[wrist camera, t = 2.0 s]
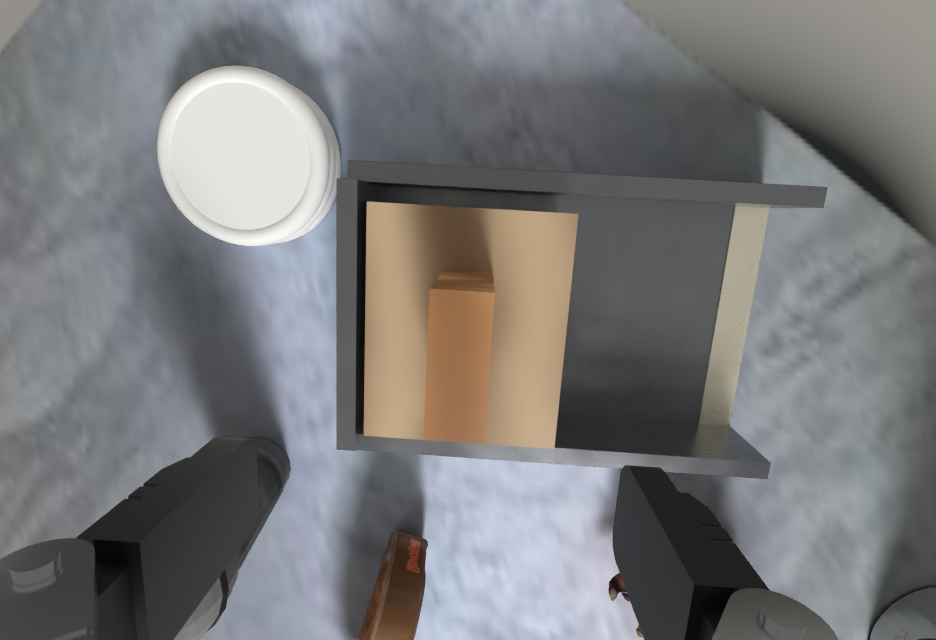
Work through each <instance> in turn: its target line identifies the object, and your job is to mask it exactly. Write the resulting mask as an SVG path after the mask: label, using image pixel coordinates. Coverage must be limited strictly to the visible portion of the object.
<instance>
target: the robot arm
mask: <svg viewBox="0 0 936 640" xmlns="http://www.w3.org/2000/svg"><path fill="white" fill-rule="evenodd" d="M258 509H259V494H258V468H257V448H256V444H255V442H254V440H252V439H247V438H232V437H215V438H213V439H212V440H211V441H209V442H208V443H207V444H206V445H205V446H203V447H202V448H201V449H200V450H199V451H197V452H196V453H195V454H194V455H193V456H192V457H190V458H185V459H183V460H180V461H178V462H176V463H174V464H172V465H170V466H168V467H165V468H163V469H162V470H160V471H159V472H158V473H157V474H155V475H154V476H153V477H152V478H150V479H149V480H148V481H147V482H145V483H144V486H143V487H139V488H138V489H137V490H135V491H134V492H133V493H132V494H130V495H129V497H128V499H124V500H123V501H122V502H120V503H119V504H118V505H117V506H115V507H114V508H113V509H112V510H110V511H109V512H108V513H107V514H105V515H104V516H103V517H102V518H100V519H99V520H98V521H97V522H95V523H94V524H93V525H92V526H90V527H89V528H88V529H87V530H85V531H84V532H83V533H82V534H80V535H79V536H78V537H77V538H62V539H54V540H49V541H44V542H40V543H37V544H33V545H30V546H27V547H25V548H22V549H19V550H17V551H15V552H13V553H11V554H9V555H7V556H5V557H3V558H1V559H0V640H174V638H175V637H176V636H177V634H178V633H179V632H180V630H181V629H182V627H183V626H184V625H185V623H186V622H187V621H188V619H189V618H190V616H191V615H192V614H193V612H194V611H195V610H196V608H197V607H198V605H199V604H200V603H201V601H202V600H203V599H204V597H205V596H206V594H207V593H208V592H209V590H210V589H211V588H212V586H213V585H214V583H215V582H216V581H217V579H218V578H219V577H220V575H221V574H222V572H223V571H224V570H225V568H226V567H227V566H228V564H229V563H230V561H231V560H232V559H233V557H234V556H235V555H236V553H237V552H238V550H239V549H240V548H241V546H242V545H243V544H244V542H245V541H246V539H247V538H248V537H249V535H250V534H251V532H252V530H253V528H254V525H255V523H256V519H257V515H258ZM613 550H614V556H615V560H616V563H617V566H618V569H619V572H620V574H621V577H622V580H623V582H624V585H625V588H626V591H627V593H628V596H629V599H630V601H631V604H632V607H633V610H634V612H635V615H636V618H637V620H638V623H639V626H640V629H641V631H642V634H643V637H644V639H645V640H838V638H837V636H836V634H835V633H834V631H833V630H832V629H831V628H830V626H829V625H828V624H827V623H826V622H825V621H824V620H823V619H822V618H821V617H820V616H818V615H817V614H816V613H815V612H813V611H812V610H811V609H809V608H808V607H806V606H805V605H803V604H801V603H799V602H798V601H796V600H794V599H792V598H790V597H787V596H785V595H782V594H780V593H777V592H773V591H770V590H769V589H768V587H767V586H766V585H765V583H764V582H763V581H762V579H761V578H760V577H759V575H758V574H757V573H756V571H755V570H754V569H753V567H752V566H751V565H750V563H749V562H748V561H747V559H746V558H745V557H744V555H743V554H742V552H741V551H740V550H739V548H738V547H737V546H736V544H733V543H732V539H731V538H730V536H729V535H728V534H727V532H726V531H725V530H724V529H722V528H721V524H720V523H719V522H718V520H717V519H716V518H715V516H714V515H713V514H712V512H711V511H710V510H709V508H708V507H706V506H705V505H703V504H702V503H701V502H699V501H698V500H697V499H695V498H694V497H692V496H691V495H690V494H688V493H681V492H678V491H677V490H676V488H675V487H674V485H673V484H672V482H671V481H670V479H669V478H668V476H667V475H666V473H665V472H664V470H663V469H662V468H660V467H646V466H632V465H625V466H624V467H623V468H622V471H621V475H620V482H619V489H618V497H617V504H616V512H615V519H614V527H613ZM870 640H936V587H930V588H926V589H923V590H919V591H916V592H913V593H911V594H909V595H907V596H904V597H903V598H901V599H900V600H898V601H897V602H895V603H894V604H892V605H891V606H890V607H889V608H888V609H887V610H886V611H885V612H884V613H883V614H882V615H881V616H880V618H879V619H878V621H877V622H876V624H875V626H874V628H873V630H872V633H871V636H870Z"/></svg>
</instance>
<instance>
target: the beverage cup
mask: <svg viewBox="0 0 936 640" xmlns="http://www.w3.org/2000/svg"><path fill="white" fill-rule="evenodd" d="M248 439H252V440H254V442H255V444H256V448H257V468H258V494H259V509H258V515H257V519H256V523H255V525H254V528H253V530H252V532H251V534H250V535H249V537H248V538H247V539H246V541H245V542H244V544H243V545H242V546H241V548H240V549H239V550H238V552H237V553H236V555H235V556H234V557H233V559H232V560H231V561H230V563H229V564H228V566H227V567H226V568H225V570H224V571H223V572H222V574H221V575H220V577H219V578H218V579H217V581H216V582H215V583H214V585H213V586H212V588H211V589H210V590H209V592H208V593H207V594H206V596H205V597H204V599H203V600H202V601H201V603H200V604H199V605H198V607H197V608H196V610H195V611H194V612H193V614H192V615H191V616H190V618H189V619H188V621H187V622H186V623H185V625H184V626H183V627H182V629H181V630H180V632H179V633H178V634H177V636H176V637H175V638H174V640H200V639H201V638H202V637H203V635H204V634H205V633H206V632H207V631H208V630H209V629H211V628H212V627H213V626H214V625H215V624H216V623H217V621H218V619H219V618H220V616H221V615H222V613H223V612H224V610H225V609H226V604H227V599H228V597H229V596H230V594H231V591H232V589H233V586H234V584H235V581H236V579H237V575H238V571H239V569H240V567H241V565H242V563H243V562H244V560H245V558H246V556H247V554H248V553H249V551H250V549H251V547H252V545H253V544H254V542H255V540H256V538H257V536H258V535H259V533H260V531H261V529H262V527H263V526H264V524H265V522H266V520H267V518H268V517H269V515H270V513H271V511H272V509H273V508H274V506H275V504H276V502H277V501H278V499H279V497H280V495H281V493H282V492H283V488H284V486H285V484H286V482H287V480H288V479H289V475H290V470H291V469H290V462H289V459H288V457H287V455H286V453H285V452H284V450H283V449H282V448H281V447H280V446H279V445H278V444H276V443H274V442H273V441H271V440H268V439H265V438H261V437H254V438H248Z"/></svg>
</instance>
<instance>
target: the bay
mask: <svg viewBox="0 0 936 640" xmlns="http://www.w3.org/2000/svg"><path fill="white" fill-rule="evenodd" d="M827 188H828V187H816V186H798V185H780V184H762V183H745V182H727V181H709V180H691V179H674V178H656V177H638V176H620V175H602V174H585V173H567V172H549V171H531V170H514V169H496V168H478V167H460V166H443V165H425V164H407V163H389V162H371V161H354V160H348V179H343V178H337V449H338V450H352V451H355V450H367V451H381V452H395V453H409V454H423V455H437V456H451V457H465V458H479V459H493V460H507V461H521V462H535V463H549V464H563V465H577V466H591V467H605V468H619V469H622V468H623V467H624V466H625V465H632V466H646V467H660V468H662V469H663V470H664V472H675V473H689V474H703V475H717V476H731V477H745V478H759V479H768V474H769V469H770V464H771V463H770V462H769V461H768V460H767V459H766V458H765V457H764V456H762V455H761V454H760V453H759V452H758V451H757V450H756V449H755V448H753V447H752V446H751V445H750V444H749V443H748V442H747V441H746V440H745V439H743V438H742V437H741V436H740V435H739V434H738V433H737V432H736V431H734V430H733V429H732V428H731V427H730V421H731V415H732V410H733V405H734V399H735V394H736V388H737V383H738V377H739V372H740V366H741V361H742V356H743V350H744V345H745V339H746V334H747V328H748V323H749V317H750V312H751V306H752V301H753V296H754V290H755V285H756V279H757V274H758V268H759V263H760V257H761V252H762V247H763V241H764V236H765V230H766V225H767V219H768V214H769V208H823V207H824V202H825V198H826V193H827ZM367 202H383V203H401V204H418V205H435V206H452V207H469V208H486V209H503V210H521V211H538V212H555V213H572V214H578V224H577V234H576V244H575V253H574V263H573V273H572V282H571V292H570V302H569V312H568V321H567V331H566V341H565V351H564V360H563V370H562V380H561V389H560V399H559V409H558V419H557V428H556V438H555V448H554V449H545V448H531V447H517V446H503V445H488V444H474V443H460V442H446V441H432V440H418V439H403V438H389V437H375V436H364V377H365V298H366V219H367Z"/></svg>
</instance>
